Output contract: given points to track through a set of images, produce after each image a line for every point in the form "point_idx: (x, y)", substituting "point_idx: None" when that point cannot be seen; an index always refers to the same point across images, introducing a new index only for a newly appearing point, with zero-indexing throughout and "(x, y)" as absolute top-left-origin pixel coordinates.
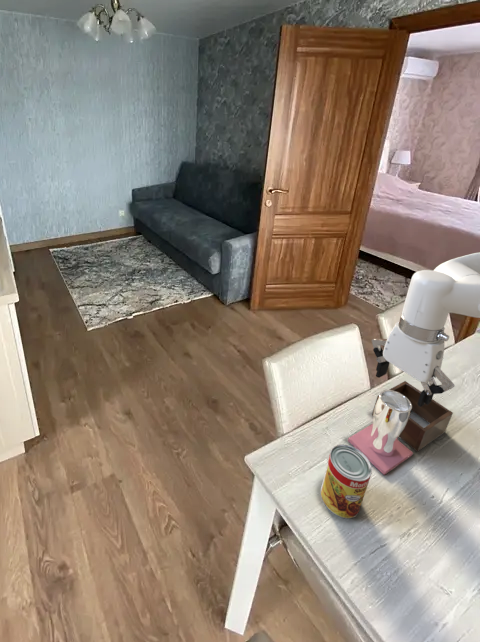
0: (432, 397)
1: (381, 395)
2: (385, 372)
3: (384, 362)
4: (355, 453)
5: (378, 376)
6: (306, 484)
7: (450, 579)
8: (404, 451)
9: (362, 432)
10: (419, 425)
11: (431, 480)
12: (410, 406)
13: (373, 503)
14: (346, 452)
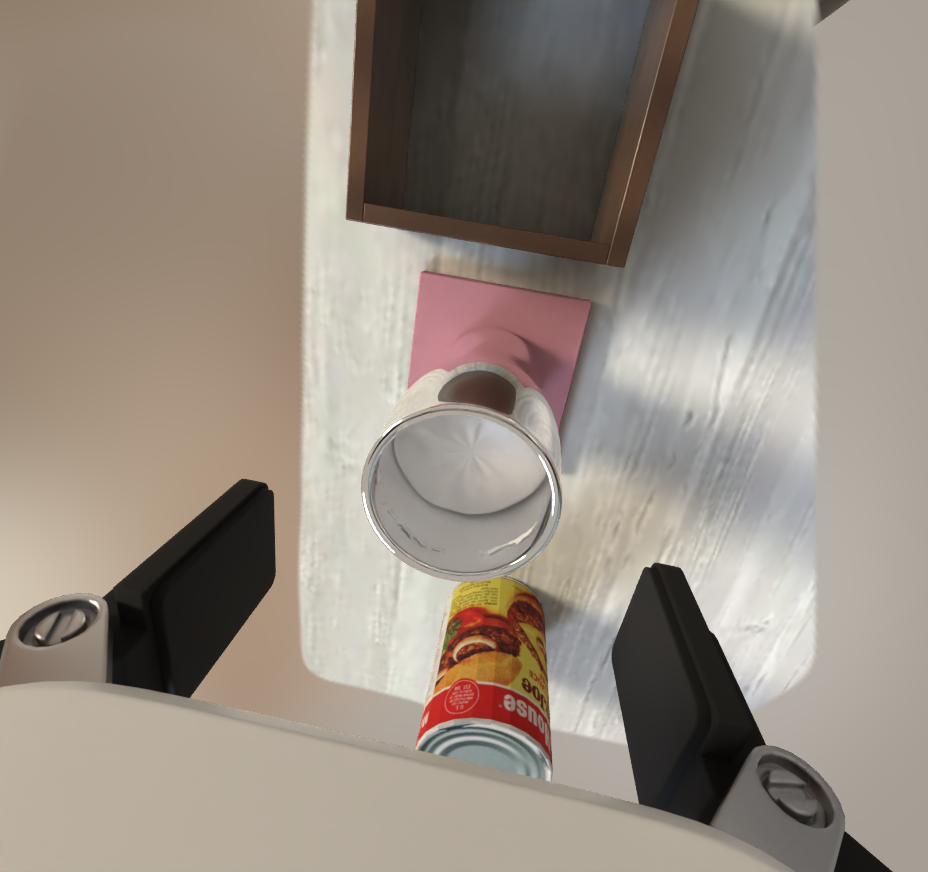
0: (735, 682)
1: (376, 463)
2: (259, 523)
3: (147, 685)
4: (476, 735)
5: (263, 591)
6: (420, 636)
7: (764, 600)
8: (564, 328)
9: (417, 376)
10: (589, 248)
11: (674, 355)
12: (550, 479)
13: (560, 565)
14: (453, 748)
